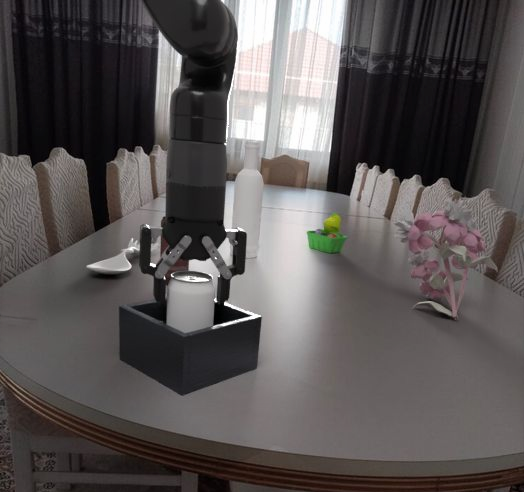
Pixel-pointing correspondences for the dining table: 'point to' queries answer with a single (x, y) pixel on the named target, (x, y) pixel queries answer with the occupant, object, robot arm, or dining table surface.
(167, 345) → the basin
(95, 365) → the dining table surface
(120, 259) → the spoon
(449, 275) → the flower
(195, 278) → the can
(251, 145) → the bottle
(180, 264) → the can
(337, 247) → the green easter basket
